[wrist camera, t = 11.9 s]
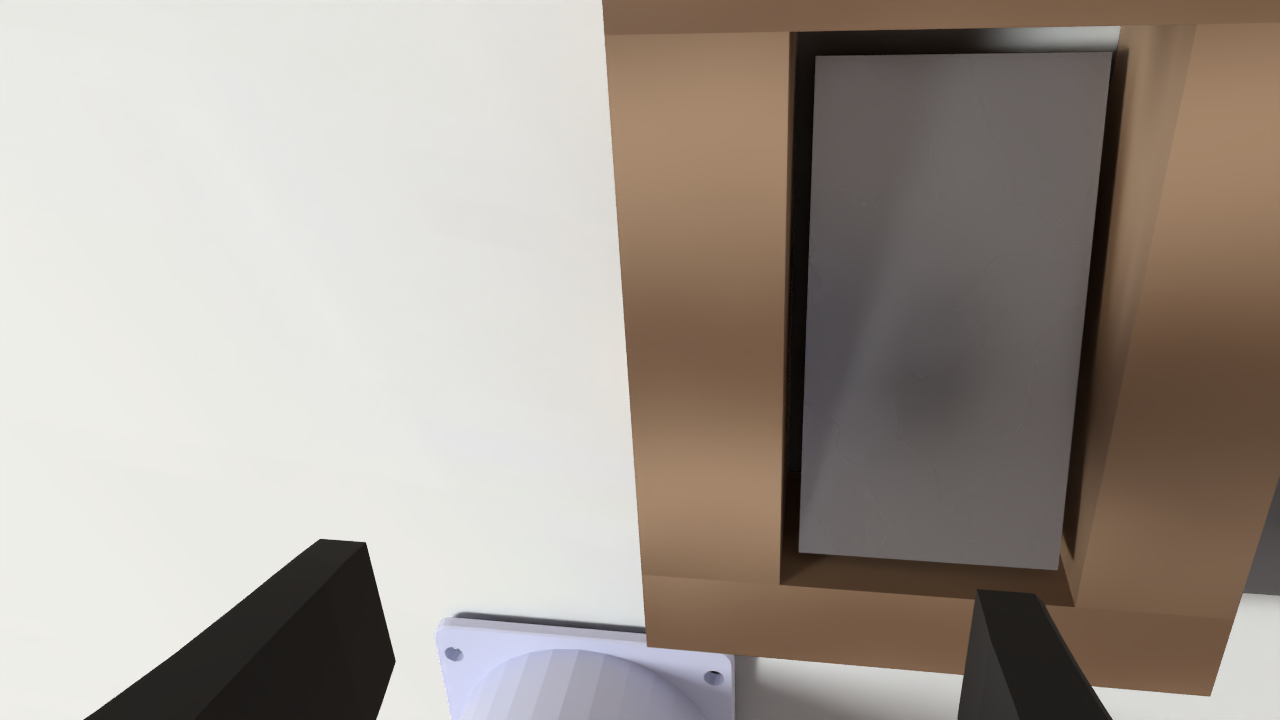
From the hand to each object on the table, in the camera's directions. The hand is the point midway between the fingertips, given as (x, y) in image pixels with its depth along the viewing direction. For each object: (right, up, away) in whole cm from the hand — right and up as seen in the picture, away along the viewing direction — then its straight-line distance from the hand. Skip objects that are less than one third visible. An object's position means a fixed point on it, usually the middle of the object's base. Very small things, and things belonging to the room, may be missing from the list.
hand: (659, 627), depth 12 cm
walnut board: (+6, +5, +8) cm, 11 cm away
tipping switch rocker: (+5, +4, +7) cm, 9 cm away
